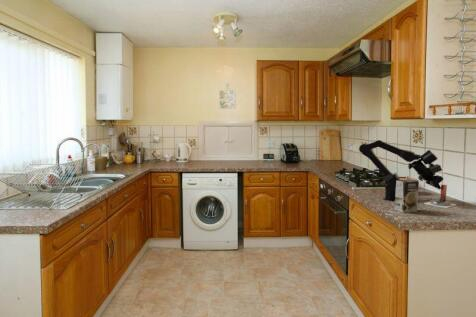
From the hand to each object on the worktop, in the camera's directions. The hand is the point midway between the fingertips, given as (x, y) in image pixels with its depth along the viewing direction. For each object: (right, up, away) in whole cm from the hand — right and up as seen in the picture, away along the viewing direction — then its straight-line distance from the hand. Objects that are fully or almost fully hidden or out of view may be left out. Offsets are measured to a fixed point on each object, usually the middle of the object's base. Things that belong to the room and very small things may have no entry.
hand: (440, 188), depth 197 cm
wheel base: (-2, -8, -3) cm, 9 cm away
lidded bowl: (-6, -5, +27) cm, 28 cm away
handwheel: (-2, -8, -3) cm, 9 cm away
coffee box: (-28, -10, -17) cm, 34 cm away
